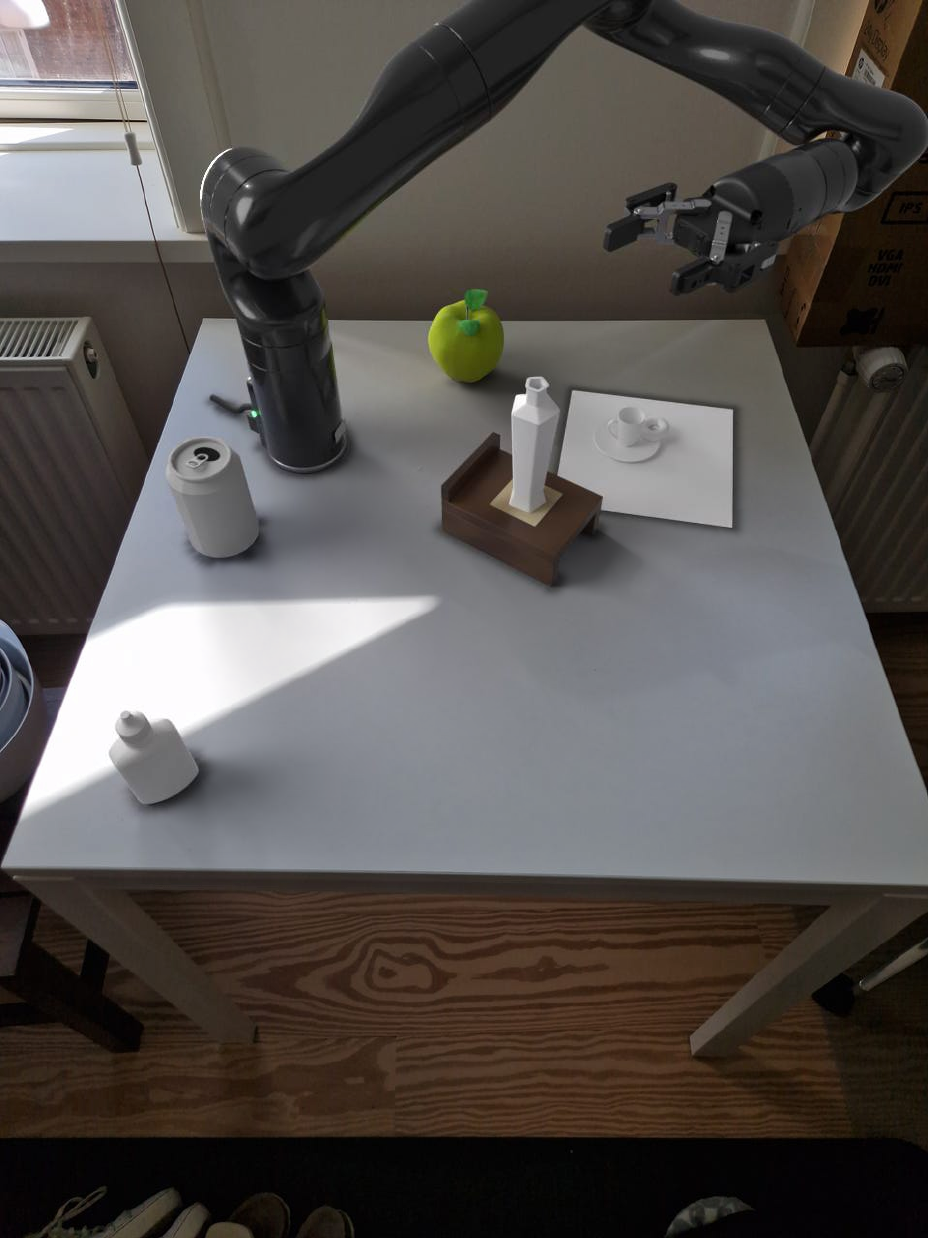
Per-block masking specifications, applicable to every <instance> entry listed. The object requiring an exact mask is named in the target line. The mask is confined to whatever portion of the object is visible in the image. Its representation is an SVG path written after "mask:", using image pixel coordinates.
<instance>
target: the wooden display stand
mask: <svg viewBox="0 0 928 1238" xmlns="http://www.w3.org/2000/svg"><path fill="white" fill-rule="evenodd" d="M501 437H502V436H501V434H499V433H498V432H495V431H492V432H491V433H490V434H489V435H488V436H487V437H486V438H485V439H484V440H483V441H482V442H481V443H480V445H478V447H477V448H476V449H475V450H474V451H473V452H471V454H470V455H469V456H468V457H467V458H466V459H465V460H464V461H463V462H462V463H461V464H460V465H459V466H458V467H457V468H456V469H455V470H454V471H453V472H452V474H450V476H449V477H447V478H446V480H444V481H443V482H442V484H441V485H440V501H441V503H440V504H441V531H442V532H444V533H445V534H448V535H449V536H451V537H454V538H455V539H457V540H459V541H461V542H462V543H465V544H467V545H469V546H471V547H473V548H474V549H476V550H478V551H481V552H483V553H484V554H487V555H488V556H490V557H493V558H494V559H496V560H498V561H500V562H502V563H504V564H506V565H508V566H509V567H512V568H513V569H515V570H518V571H519V572H522V573H524V574H526V575H528V576H530V577H531V578H533V579H535V580H537V581H539V582H540V583H543V584H545V585H547V586H548V587H553V586H554V584H555V583H556V582H557V580H558V574H559V568H560V562H561V561H560V560H561V558H562V557H563V555H564V553H566V552H567V550H568V549H569V548H570V546H571V545H572V543H573V542H574V541H575V540H576V539H577V537H578V536H579V535H580V534H581V532H582V531H584V532H586V533H588V534H589V535H593V534H594V533H595V532H596V531H597V529H598V526H599V521H600V517H601V511H602V510H601V506H602V500H603V496H601V495H599V494H597V493H594V492H592V491H590V490H588V489H586V488H584V487H581V486H579V485H577V484H575V483H573V482H571V481H568V480H566V479H564V478H562V477H560V476H558V474H555V473H553V472H551V471H549V470H547V475H546V480H545V484H544V489H543V491H544V495H545V499H546V502H545V503H544V504H543V505H541V506H540V507H538V508H537V509H536V510H534V511H533V512H531V513H528V512H525V511H523V510H520V509H518V508H515V507H513V506H511V505H510V504H509V502H510V498H511V494H512V490H513V455H512V453H510V452H508V451H506V450H503V449H501Z"/></svg>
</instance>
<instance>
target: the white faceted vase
mask: <svg viewBox="0 0 928 1238" xmlns="http://www.w3.org/2000/svg"><path fill="white" fill-rule="evenodd" d="M549 387H550V384H549V383H548V381H547V380H546V379H545V377H544V376H530V377H527V378H526V381H525V389H526V392H525V393H521V394H516V395H515V398H514V401H513V406H512V409H511V442H512V443H511V448H512V449H511V450H512V451H511V452H512V453H511V454H512V455H513V490H512V494H511V498H510V502H509V504H510V505H511V506H513V507H515V508H518V509H520V510H523V511H525V512H528V513H531V512H533V511H534V510H536V509H537V508H538V507H540V506H541V505H543V504H544V503H545V502H546V499H545V495H544V491H543V489H544V484H545V480H546V475H547V471H549V465H550V460H551V456H552V450H553V446H554V441H555V437H556V431H557V427H558V422H559V419H560V413H561V410H560V408H559V407H558V405H557V404H556V403H555V401H554V400H553V399H552V397H551V396H550V394H548V393H547V392H548V388H549Z"/></svg>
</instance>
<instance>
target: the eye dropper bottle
mask: <svg viewBox="0 0 928 1238" xmlns="http://www.w3.org/2000/svg"><path fill="white" fill-rule="evenodd" d="M114 728H115V729H114V730H115V732H116V734H117V735H118V736H119V737H117V739H116V740H115V741H114V742H113V743H112V745H111V746H110V748H109V750H108V756H109V758H110V760H111V763H112V764H113V766H114V768H115V769H116V771H117V773H118V774H119V775H120V777H121V778H122V779H123V781H124V783H125V784H126V785H127V786H128V788H129V789H130V791H131V792H132V793H133V794H134V796H135V797H136V798H137V801H139V802H140V803H141V804H142V805H143V804H144V805H151V804H156V803H159V802H162V801H165V800H168V799H170V798H171V797H174V796H176V795H177V794H179V793H181V792H182V791H184V790H185V788H187V787H188V786H189V785H190V784H191V783H192V782H193V781H194V780H195V779H196V777H197V776H198V775H199V771H200V770H199V766H198V764H197V762H196V761H195V759H194V757H193V755H192V754H191V752H190V750H189V748H188V746H187V745H186V743H185V741H184V739H183V738H182V736H181V734H180V733H179V731H178V729H177V727H176V726H175V724H174V723H173V722H172V721H171V720H170V718H164V717H162V718H161V717H160V718H154V719H148V718H147V717H146V715H145V714H144V713H143V712H141V711H139V710H134V709H133V710H123V711H122V712H120V714H119V716H118V718H117V719H116V722H115V726H114Z"/></svg>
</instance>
